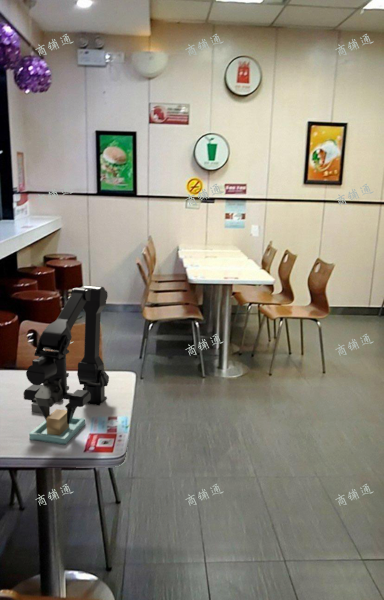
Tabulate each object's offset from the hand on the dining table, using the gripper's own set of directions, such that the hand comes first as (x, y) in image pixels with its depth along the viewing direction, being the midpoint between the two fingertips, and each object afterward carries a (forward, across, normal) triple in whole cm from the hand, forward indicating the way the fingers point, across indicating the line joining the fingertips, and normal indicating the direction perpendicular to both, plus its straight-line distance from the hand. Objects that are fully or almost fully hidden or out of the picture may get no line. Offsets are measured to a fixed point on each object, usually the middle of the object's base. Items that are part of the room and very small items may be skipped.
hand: (58, 422), depth 144 cm
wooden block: (+2, 0, 0) cm, 3 cm away
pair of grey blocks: (+3, -12, +15) cm, 19 cm away
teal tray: (+3, 0, 0) cm, 3 cm away
